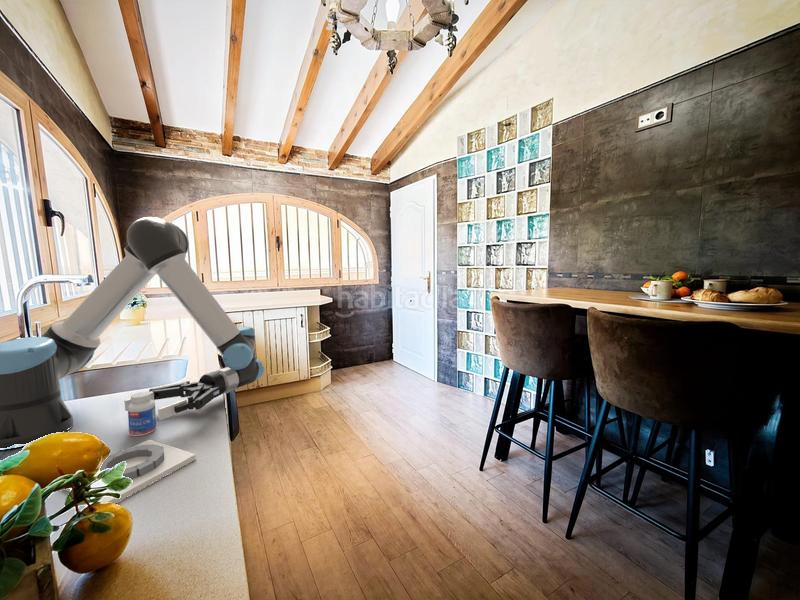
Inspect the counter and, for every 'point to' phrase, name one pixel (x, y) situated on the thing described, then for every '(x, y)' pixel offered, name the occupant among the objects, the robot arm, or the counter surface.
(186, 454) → the collar plate
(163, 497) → the counter surface
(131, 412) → the pill bottle
